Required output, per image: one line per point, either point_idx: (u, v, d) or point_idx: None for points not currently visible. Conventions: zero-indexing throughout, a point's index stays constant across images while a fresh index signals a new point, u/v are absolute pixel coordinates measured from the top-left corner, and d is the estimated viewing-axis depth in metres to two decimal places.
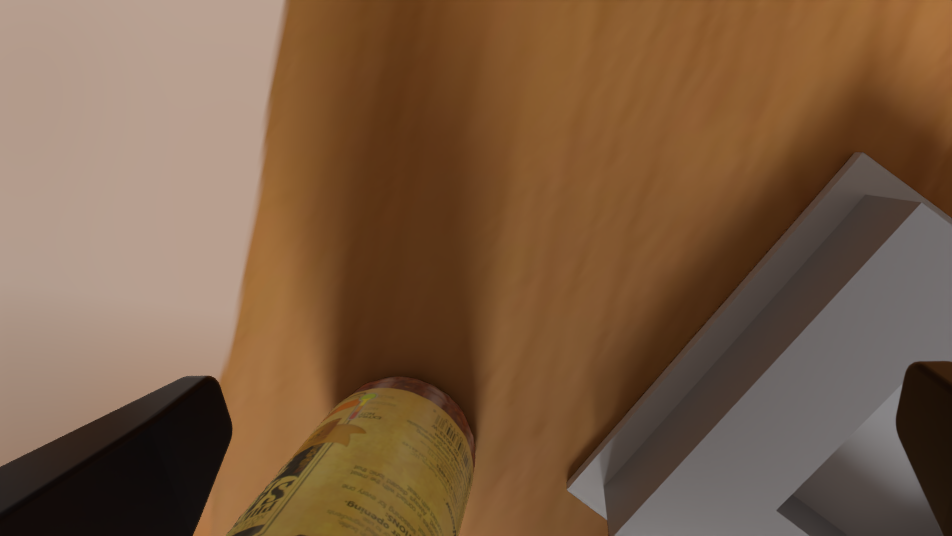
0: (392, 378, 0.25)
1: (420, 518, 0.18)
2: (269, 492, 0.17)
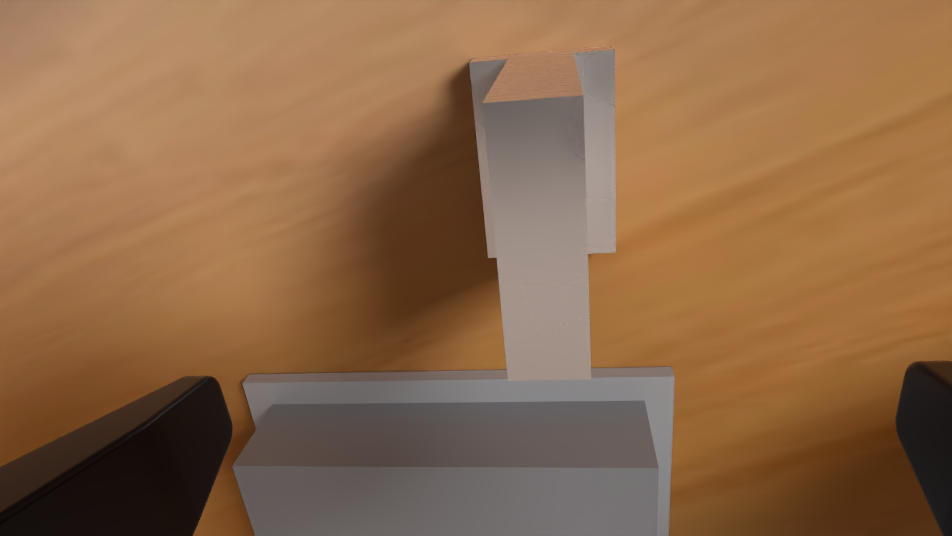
0: None
1: None
2: None
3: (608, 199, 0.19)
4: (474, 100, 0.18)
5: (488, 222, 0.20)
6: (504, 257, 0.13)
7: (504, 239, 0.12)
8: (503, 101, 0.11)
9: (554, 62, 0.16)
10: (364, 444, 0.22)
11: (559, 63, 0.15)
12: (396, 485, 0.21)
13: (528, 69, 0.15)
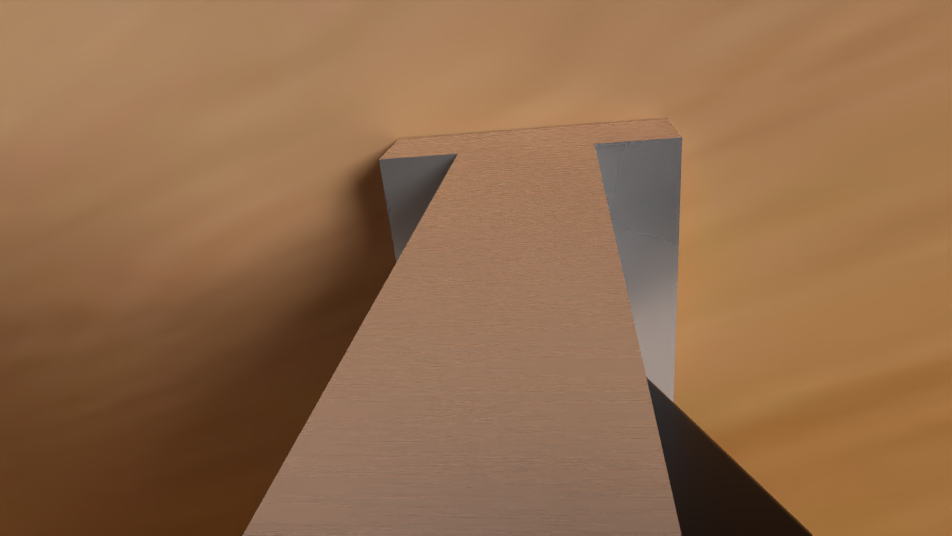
0: None
1: None
2: None
3: None
4: (394, 230, 0.09)
5: None
6: None
7: None
8: None
9: (553, 185, 0.07)
10: None
11: (565, 194, 0.06)
12: None
13: (487, 220, 0.06)
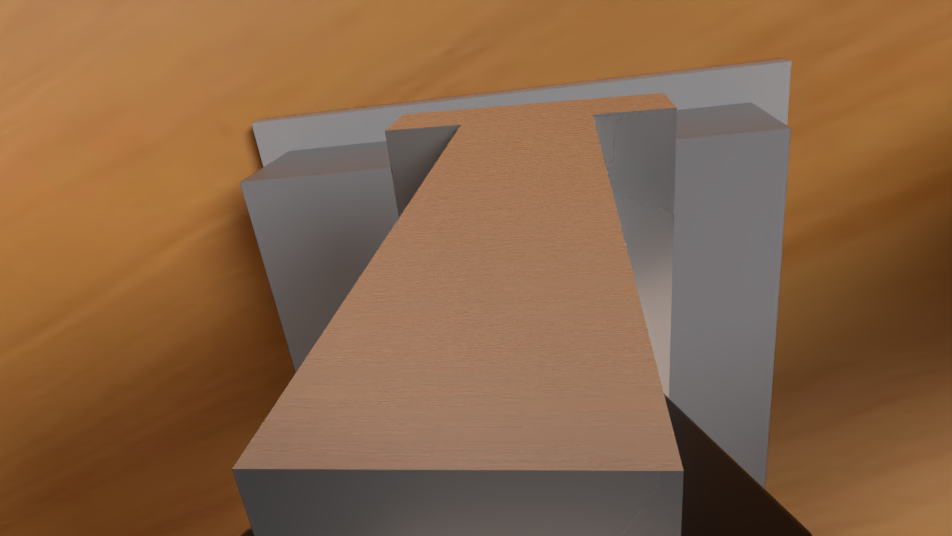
0: None
1: None
2: None
3: None
4: (399, 201, 0.09)
5: None
6: None
7: None
8: (323, 461, 0.03)
9: (553, 148, 0.07)
10: None
11: (564, 154, 0.07)
12: None
13: (490, 175, 0.06)
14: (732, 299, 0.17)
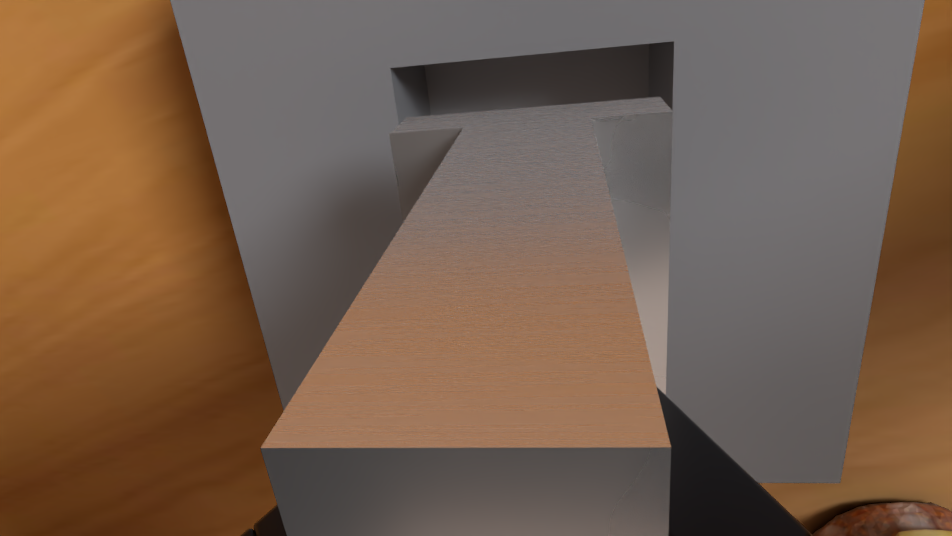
0: None
1: None
2: None
3: (653, 374, 0.10)
4: (403, 202, 0.10)
5: None
6: None
7: None
8: (343, 441, 0.03)
9: (552, 151, 0.07)
10: None
11: (563, 157, 0.07)
12: None
13: (492, 178, 0.06)
14: (841, 93, 0.12)
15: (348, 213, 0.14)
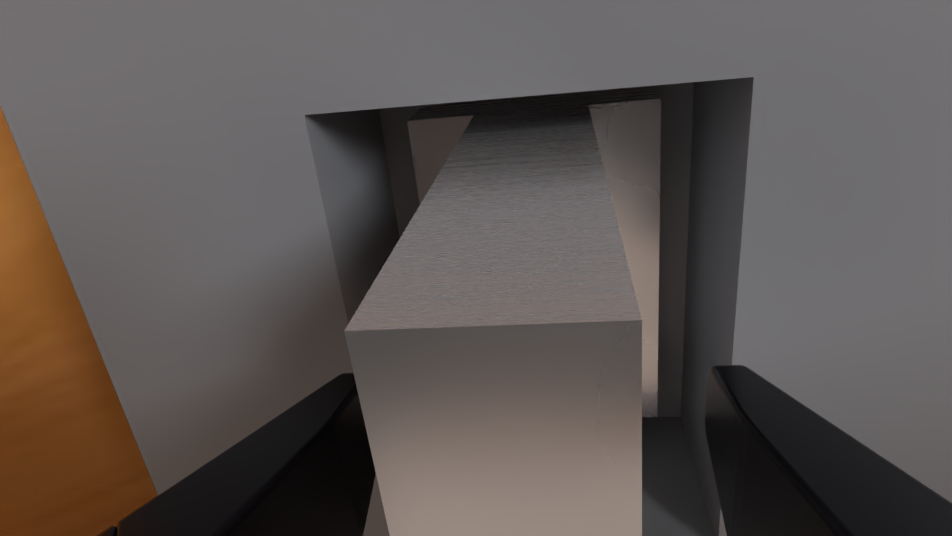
0: None
1: None
2: None
3: (647, 339, 0.11)
4: (419, 183, 0.11)
5: None
6: None
7: None
8: (405, 325, 0.04)
9: (554, 132, 0.08)
10: None
11: (564, 136, 0.08)
12: None
13: (502, 154, 0.07)
14: None
15: (255, 322, 0.10)
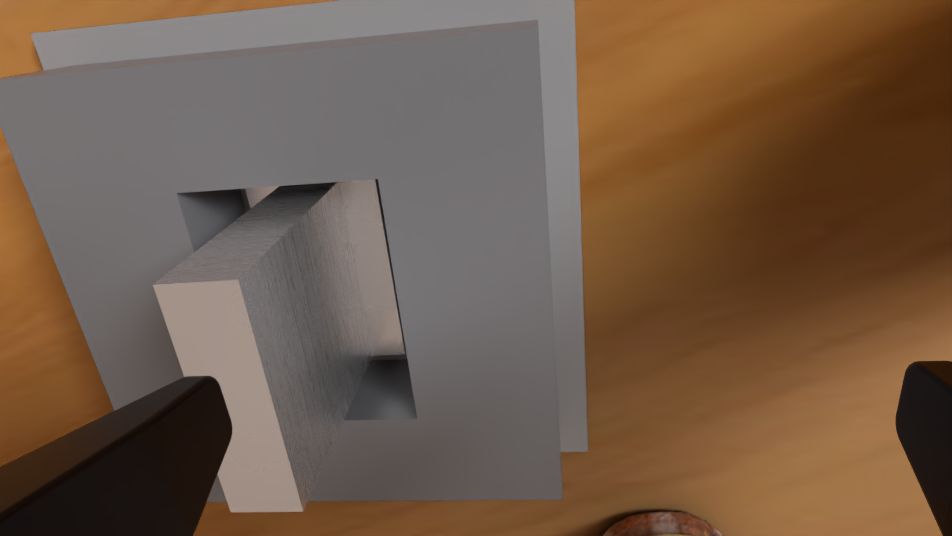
0: None
1: None
2: None
3: (391, 307, 0.20)
4: None
5: None
6: None
7: None
8: (171, 282, 0.12)
9: (301, 200, 0.17)
10: (165, 60, 0.16)
11: (302, 203, 0.17)
12: (198, 93, 0.15)
13: (265, 213, 0.16)
14: (502, 216, 0.16)
15: None
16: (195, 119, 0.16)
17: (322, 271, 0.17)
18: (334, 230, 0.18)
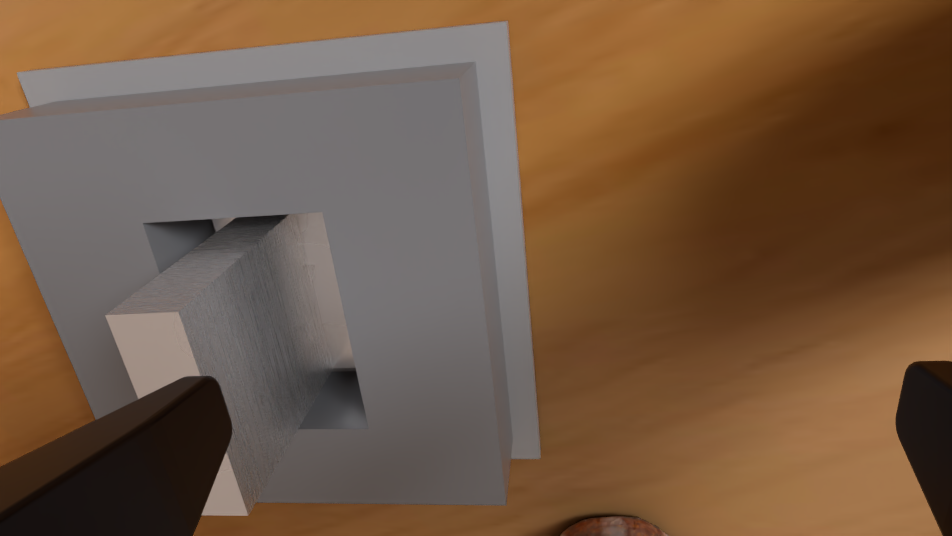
0: None
1: None
2: None
3: None
4: None
5: None
6: None
7: None
8: (121, 313, 0.14)
9: (256, 229, 0.18)
10: (131, 102, 0.18)
11: (255, 233, 0.18)
12: (158, 134, 0.17)
13: (221, 243, 0.18)
14: (436, 246, 0.17)
15: None
16: (156, 157, 0.17)
17: (275, 295, 0.18)
18: (288, 255, 0.19)
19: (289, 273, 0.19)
